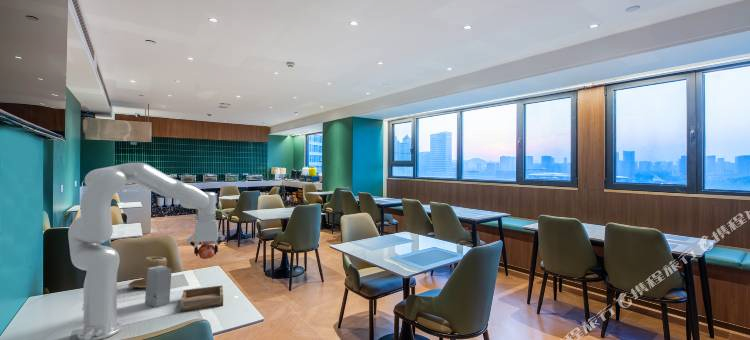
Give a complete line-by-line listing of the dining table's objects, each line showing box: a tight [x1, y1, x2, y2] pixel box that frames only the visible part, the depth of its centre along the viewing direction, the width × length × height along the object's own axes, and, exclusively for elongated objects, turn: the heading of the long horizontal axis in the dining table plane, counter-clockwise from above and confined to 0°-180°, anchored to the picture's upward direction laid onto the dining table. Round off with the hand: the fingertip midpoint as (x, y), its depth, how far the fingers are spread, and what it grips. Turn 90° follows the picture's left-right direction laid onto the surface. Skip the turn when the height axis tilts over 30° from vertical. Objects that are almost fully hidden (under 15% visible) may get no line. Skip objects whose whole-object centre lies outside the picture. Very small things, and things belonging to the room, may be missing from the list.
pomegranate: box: [198, 242, 216, 260], centre depth 165 cm, size 7×7×10 cm
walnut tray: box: [179, 285, 224, 313], centre depth 155 cm, size 16×16×4 cm
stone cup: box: [127, 256, 168, 289], centre depth 176 cm, size 15×12×15 cm
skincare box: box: [144, 266, 172, 308], centre depth 153 cm, size 8×7×16 cm
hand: (206, 254), depth 164 cm, fingers closed on pomegranate, 7 cm apart
